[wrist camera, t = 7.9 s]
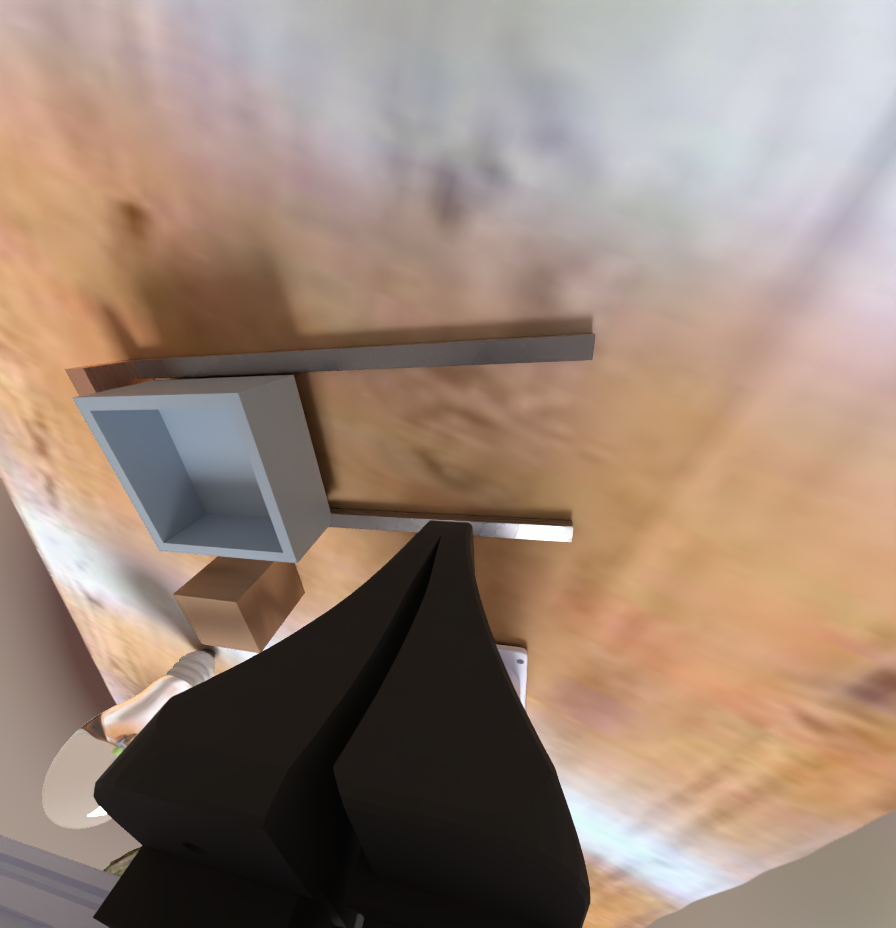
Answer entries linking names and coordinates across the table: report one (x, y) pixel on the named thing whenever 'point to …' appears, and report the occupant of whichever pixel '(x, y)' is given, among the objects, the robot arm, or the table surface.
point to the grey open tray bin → (215, 464)
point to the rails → (360, 359)
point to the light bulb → (111, 744)
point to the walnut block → (240, 601)
